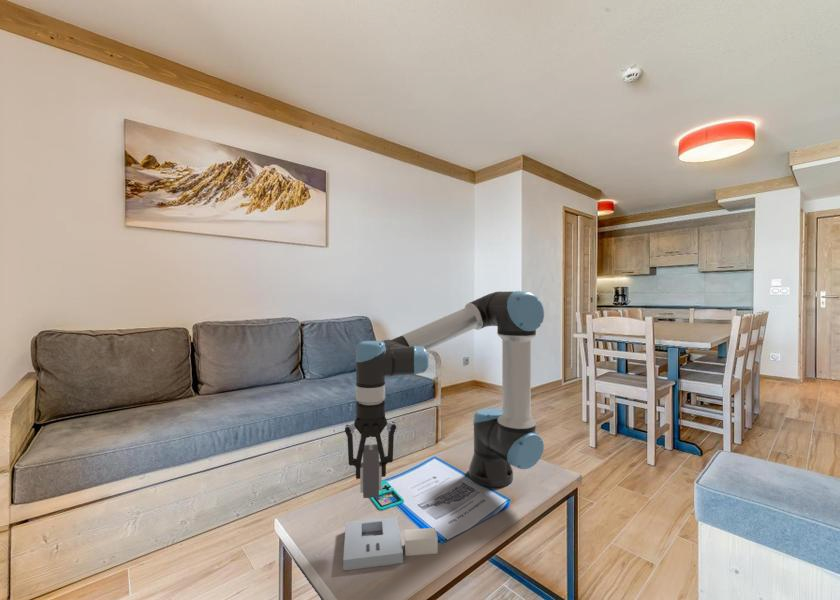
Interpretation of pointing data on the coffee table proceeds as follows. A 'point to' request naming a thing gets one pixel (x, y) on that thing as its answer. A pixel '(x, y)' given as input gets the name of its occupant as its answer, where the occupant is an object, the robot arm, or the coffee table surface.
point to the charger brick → (370, 471)
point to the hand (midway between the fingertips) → (370, 488)
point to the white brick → (421, 541)
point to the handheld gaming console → (386, 493)
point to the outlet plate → (372, 544)
